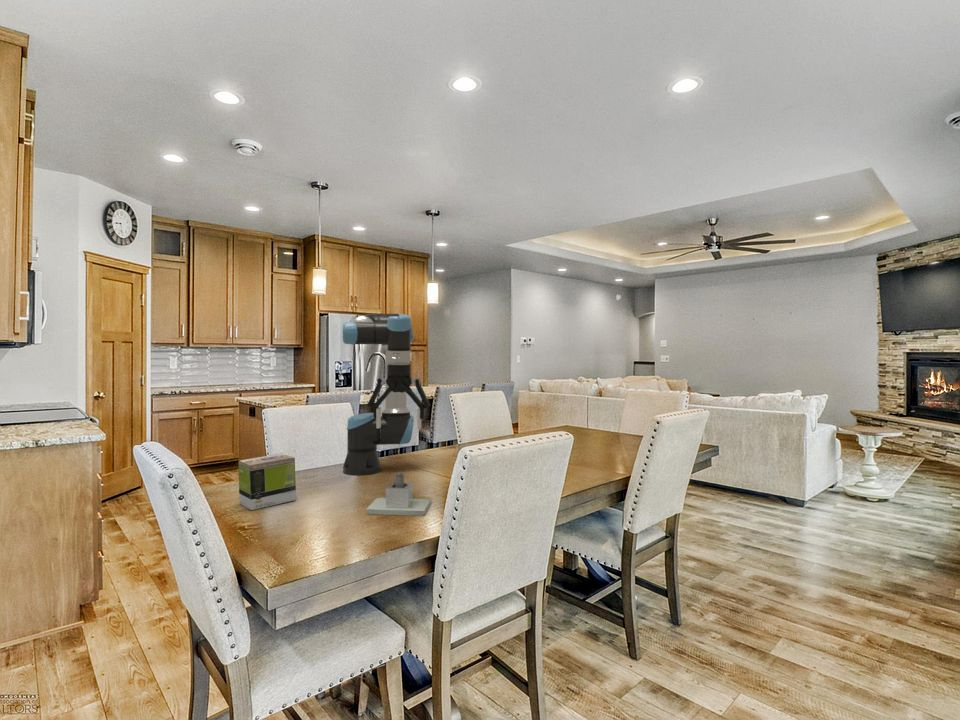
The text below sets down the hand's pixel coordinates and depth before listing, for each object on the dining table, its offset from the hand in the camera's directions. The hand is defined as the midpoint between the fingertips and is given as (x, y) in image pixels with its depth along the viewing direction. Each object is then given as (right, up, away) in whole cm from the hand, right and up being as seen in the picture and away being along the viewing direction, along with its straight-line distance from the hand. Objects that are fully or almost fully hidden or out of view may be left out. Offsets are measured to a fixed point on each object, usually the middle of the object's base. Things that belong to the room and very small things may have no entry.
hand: (398, 428), depth 171 cm
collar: (+1, -23, -6) cm, 24 cm away
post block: (+1, -25, -5) cm, 25 cm away
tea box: (-43, -25, 0) cm, 50 cm away
